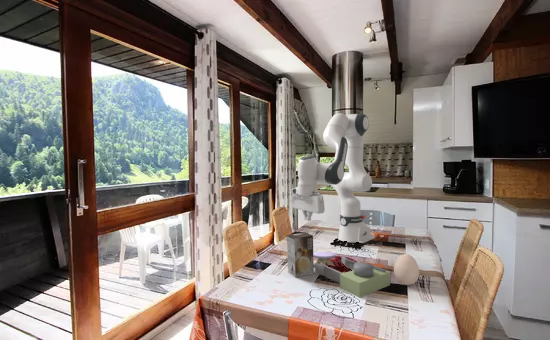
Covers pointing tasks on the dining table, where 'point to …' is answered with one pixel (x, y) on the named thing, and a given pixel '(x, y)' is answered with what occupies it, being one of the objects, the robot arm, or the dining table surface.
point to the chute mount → (331, 272)
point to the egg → (406, 269)
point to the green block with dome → (364, 279)
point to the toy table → (323, 257)
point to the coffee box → (300, 254)
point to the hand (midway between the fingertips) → (307, 220)
